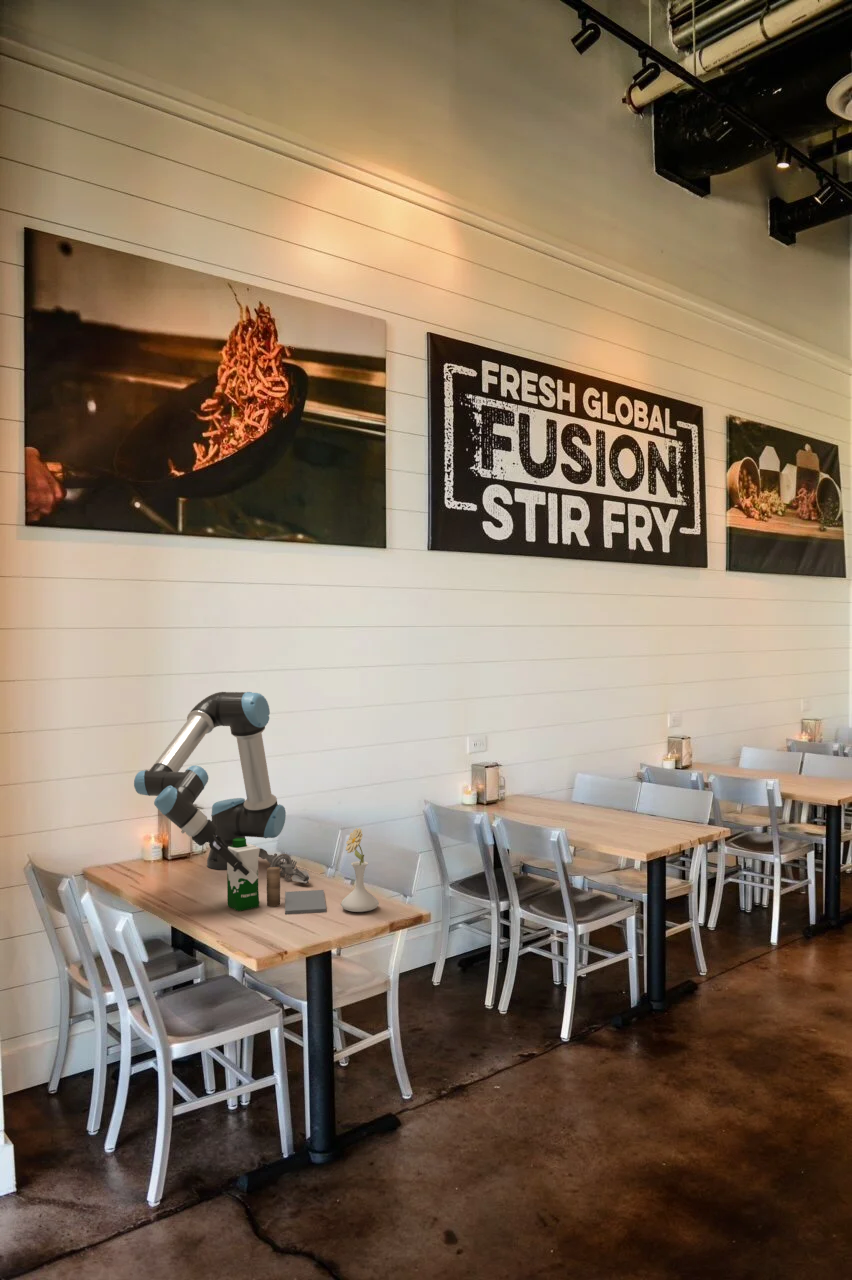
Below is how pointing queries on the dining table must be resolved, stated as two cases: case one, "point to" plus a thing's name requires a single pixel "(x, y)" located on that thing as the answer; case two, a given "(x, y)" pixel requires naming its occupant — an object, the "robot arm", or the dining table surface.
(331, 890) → the dining table surface
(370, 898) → the flower in vase
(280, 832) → the robot arm
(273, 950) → the dining table surface
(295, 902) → the slate mat
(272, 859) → the spaceship
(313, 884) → the dining table surface
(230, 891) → the soya milk
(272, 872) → the wooden pepper mill
